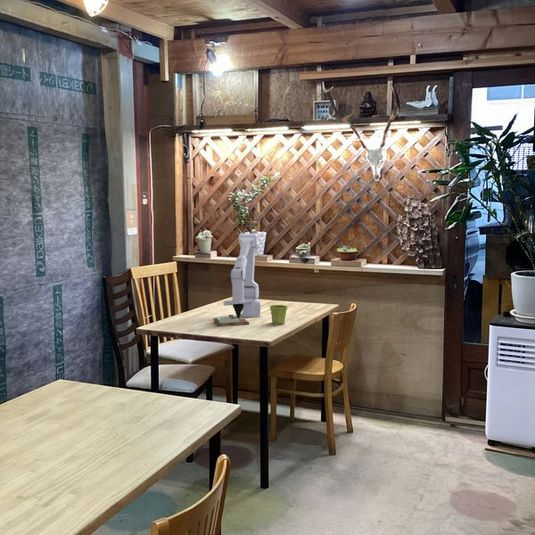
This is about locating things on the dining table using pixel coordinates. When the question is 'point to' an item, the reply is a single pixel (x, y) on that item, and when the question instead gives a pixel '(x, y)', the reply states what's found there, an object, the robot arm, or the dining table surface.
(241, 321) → the board
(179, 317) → the dining table surface
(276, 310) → the plant pot
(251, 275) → the robot arm
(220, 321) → the panel
